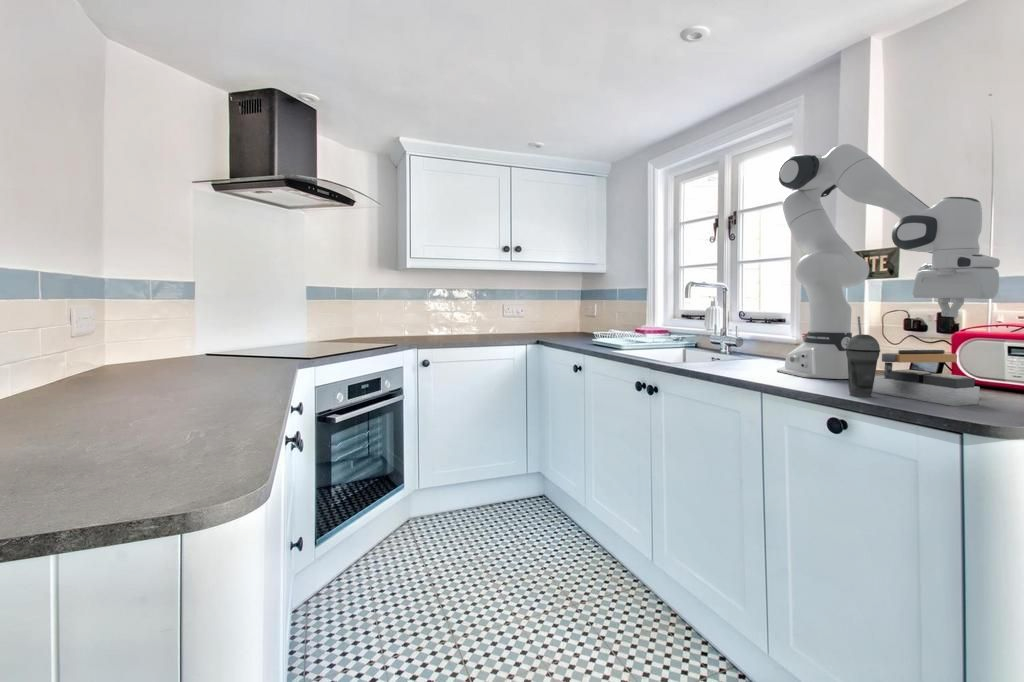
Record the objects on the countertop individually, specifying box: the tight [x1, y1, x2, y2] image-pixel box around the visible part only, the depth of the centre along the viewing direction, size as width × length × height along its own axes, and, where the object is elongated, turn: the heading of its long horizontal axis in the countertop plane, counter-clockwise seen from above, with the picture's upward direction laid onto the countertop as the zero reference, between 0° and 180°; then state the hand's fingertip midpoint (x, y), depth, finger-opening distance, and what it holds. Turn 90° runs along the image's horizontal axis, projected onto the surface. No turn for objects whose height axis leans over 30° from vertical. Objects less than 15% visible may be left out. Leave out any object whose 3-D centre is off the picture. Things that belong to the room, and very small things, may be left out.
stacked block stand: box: [872, 362, 981, 407], centre depth 123 cm, size 20×8×8 cm, turn 17°
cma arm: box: [881, 349, 958, 364], centre depth 131 cm, size 18×4×3 cm, turn 95°
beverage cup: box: [845, 316, 881, 398], centre depth 125 cm, size 7×7×20 cm
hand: (949, 316), depth 127 cm, fingers closed
